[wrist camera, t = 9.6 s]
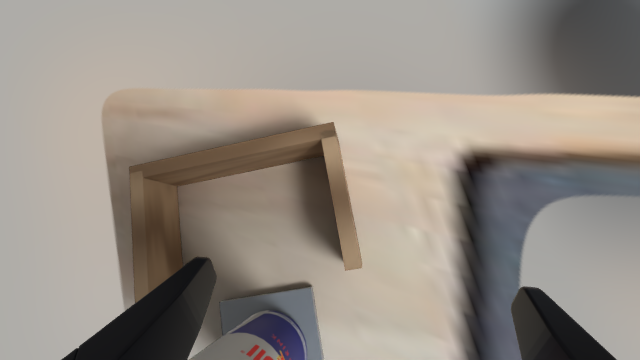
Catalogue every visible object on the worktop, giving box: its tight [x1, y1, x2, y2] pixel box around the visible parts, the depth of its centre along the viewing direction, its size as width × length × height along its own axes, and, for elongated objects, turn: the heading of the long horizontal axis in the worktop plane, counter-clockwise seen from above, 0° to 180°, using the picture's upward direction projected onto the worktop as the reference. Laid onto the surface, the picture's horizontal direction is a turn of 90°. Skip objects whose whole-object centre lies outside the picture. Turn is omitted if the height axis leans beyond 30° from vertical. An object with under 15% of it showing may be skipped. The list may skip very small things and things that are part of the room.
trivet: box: [219, 286, 324, 360], centre depth 22 cm, size 7×7×1 cm
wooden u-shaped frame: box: [129, 122, 362, 303], centre depth 22 cm, size 10×15×4 cm, turn 100°
